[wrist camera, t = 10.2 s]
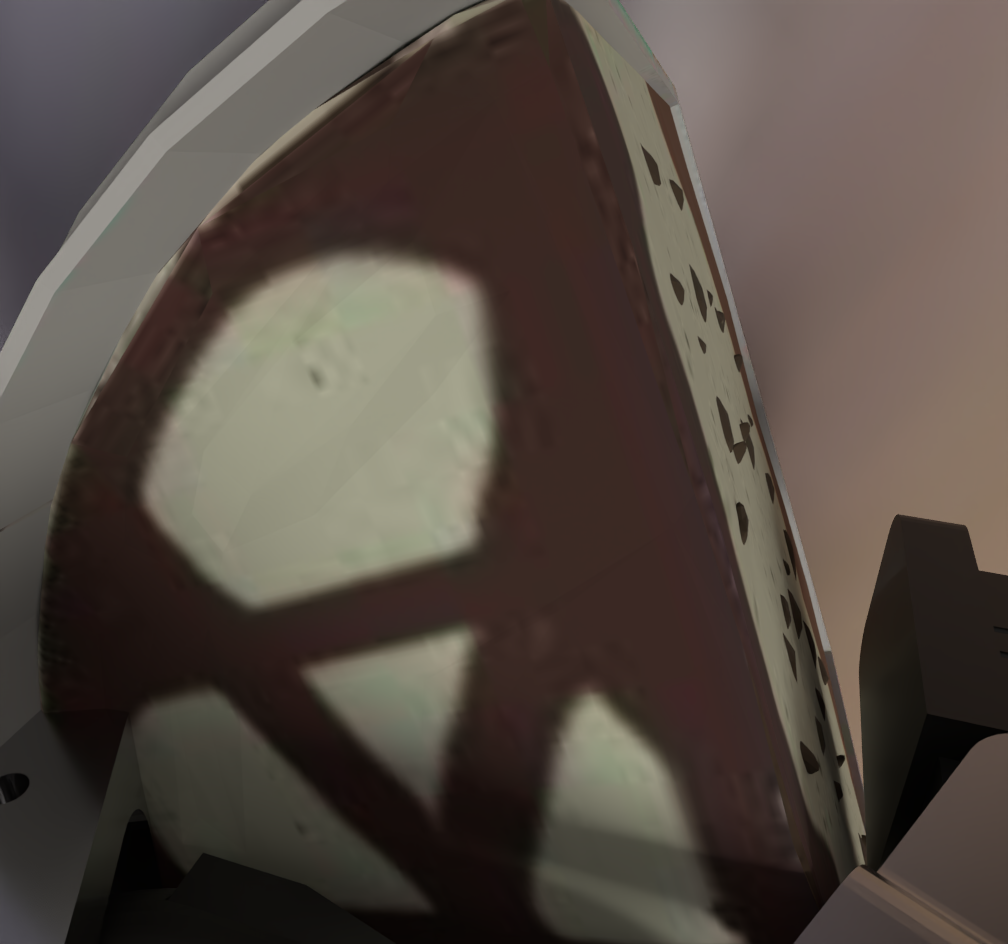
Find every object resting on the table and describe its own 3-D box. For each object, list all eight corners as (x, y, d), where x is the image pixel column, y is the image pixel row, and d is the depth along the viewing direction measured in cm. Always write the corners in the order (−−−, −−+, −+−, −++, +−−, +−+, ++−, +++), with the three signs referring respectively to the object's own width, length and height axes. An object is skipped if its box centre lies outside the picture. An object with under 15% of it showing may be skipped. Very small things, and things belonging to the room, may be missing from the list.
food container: (247, 139, 14) (-618, 288, 5) (642, -31, 12) (461, -330, 3) (524, 773, 18) (343, 1507, 9) (852, 723, 16) (1055, 1596, 7)
